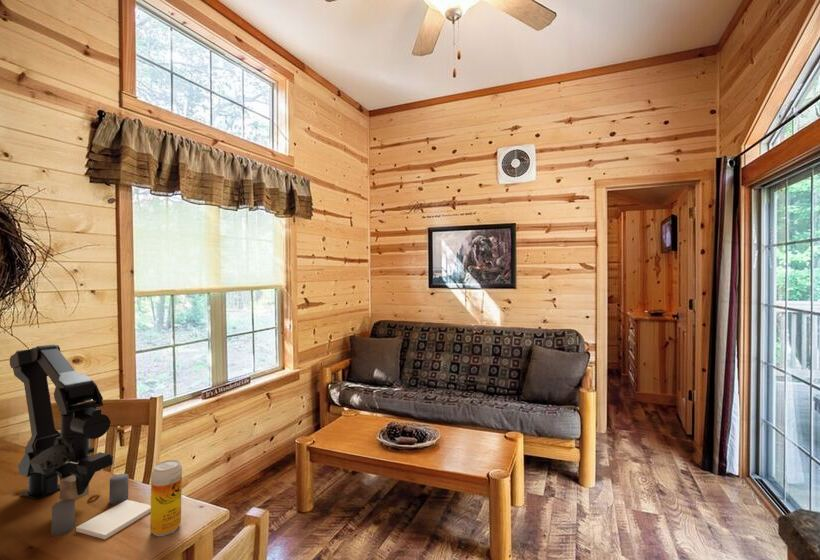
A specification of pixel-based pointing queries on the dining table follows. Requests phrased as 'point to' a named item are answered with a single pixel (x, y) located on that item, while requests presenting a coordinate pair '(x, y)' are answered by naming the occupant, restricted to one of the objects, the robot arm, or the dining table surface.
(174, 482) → the yellow canister
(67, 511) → the post
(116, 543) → the dining table surface
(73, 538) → the dining table surface
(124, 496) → the post
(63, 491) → the walnut block
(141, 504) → the ceramic tile
